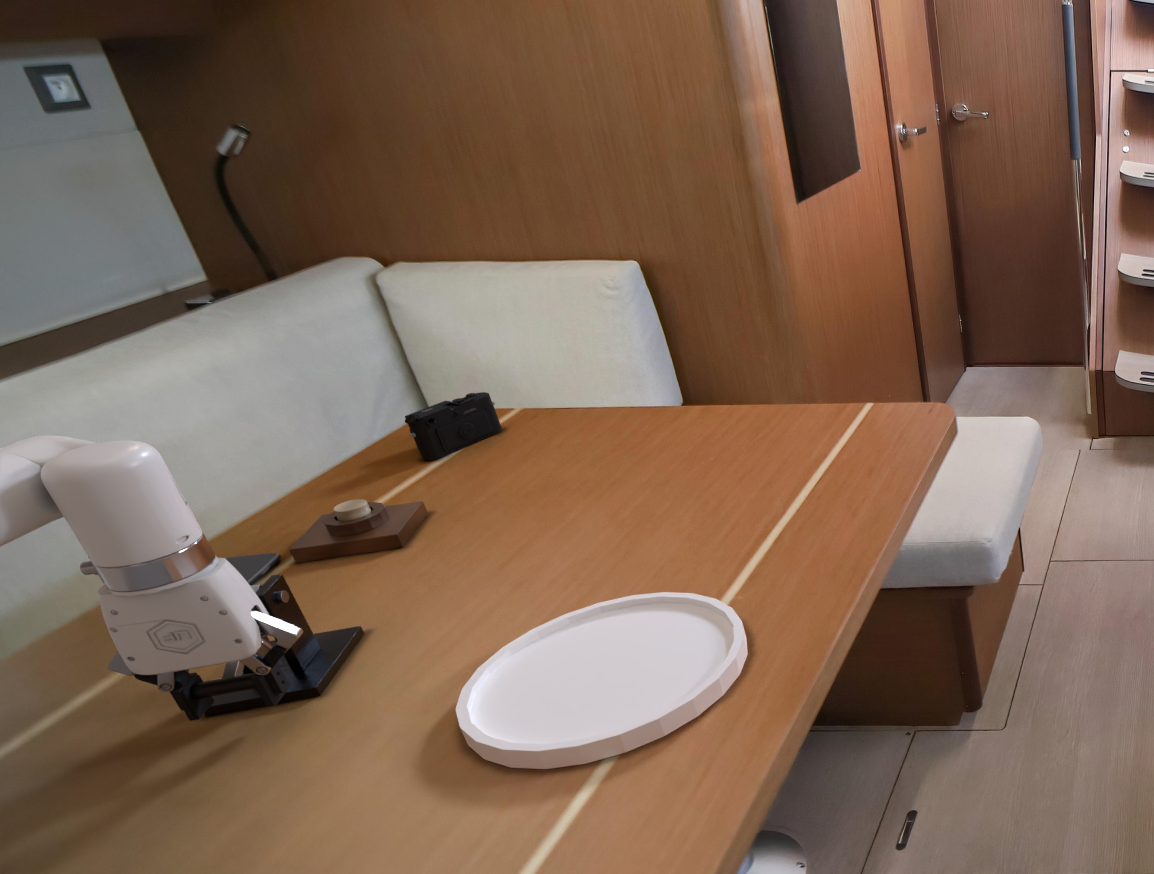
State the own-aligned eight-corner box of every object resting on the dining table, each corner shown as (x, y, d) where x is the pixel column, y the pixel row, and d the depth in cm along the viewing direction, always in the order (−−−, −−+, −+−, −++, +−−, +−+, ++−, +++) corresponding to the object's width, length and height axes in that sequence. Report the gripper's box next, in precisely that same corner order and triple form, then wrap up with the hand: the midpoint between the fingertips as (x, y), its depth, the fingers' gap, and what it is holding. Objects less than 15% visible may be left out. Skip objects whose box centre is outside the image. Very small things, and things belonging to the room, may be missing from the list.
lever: (268, 690, 102) (253, 682, 100) (201, 702, 100) (185, 694, 98) (291, 590, 108) (278, 580, 106) (229, 600, 106) (215, 590, 105)
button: (333, 524, 133) (328, 513, 132) (344, 511, 136) (339, 501, 135) (365, 519, 134) (360, 509, 133) (375, 507, 137) (371, 497, 136)
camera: (480, 423, 171) (464, 382, 167) (511, 428, 169) (496, 387, 165) (397, 458, 158) (378, 414, 155) (430, 463, 157) (412, 419, 153)
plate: (646, 586, 127) (641, 571, 126) (800, 644, 116) (796, 628, 115) (406, 718, 104) (397, 700, 103) (570, 805, 94) (563, 786, 92)
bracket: (320, 695, 107) (274, 609, 102) (205, 716, 103) (151, 629, 98) (364, 633, 117) (325, 552, 112) (261, 651, 113) (215, 568, 108)
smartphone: (136, 624, 116) (217, 557, 129) (140, 631, 117) (220, 563, 129) (211, 615, 118) (283, 550, 131) (215, 622, 118) (286, 556, 131)
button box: (295, 563, 130) (282, 538, 128) (328, 527, 138) (316, 503, 137) (403, 547, 134) (392, 523, 132) (428, 513, 142) (418, 490, 141)
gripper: (12, 601, 88) (112, 748, 96) (250, 566, 93) (326, 708, 102) (66, 559, 94) (156, 701, 102) (287, 529, 100) (355, 665, 108)
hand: (240, 703), depth 102 cm, fingers closed on lever, 5 cm apart
